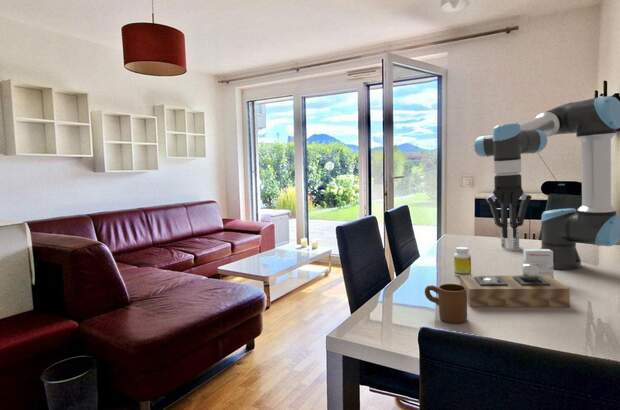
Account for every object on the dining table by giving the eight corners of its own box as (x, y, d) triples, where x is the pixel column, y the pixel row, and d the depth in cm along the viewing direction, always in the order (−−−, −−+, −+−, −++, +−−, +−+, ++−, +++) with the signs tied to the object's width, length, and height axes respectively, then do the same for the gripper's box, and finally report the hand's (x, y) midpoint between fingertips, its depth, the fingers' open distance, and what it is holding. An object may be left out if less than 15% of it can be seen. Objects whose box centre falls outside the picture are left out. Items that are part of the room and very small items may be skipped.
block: (548, 291, 124) (548, 273, 124) (569, 306, 111) (569, 286, 110) (460, 291, 130) (459, 274, 129) (469, 306, 116) (469, 287, 115)
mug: (420, 318, 110) (419, 287, 109) (430, 309, 116) (429, 280, 115) (462, 326, 102) (461, 293, 101) (470, 317, 108) (469, 285, 107)
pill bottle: (472, 277, 144) (472, 249, 143) (456, 277, 146) (455, 249, 145) (469, 272, 151) (468, 246, 150) (453, 273, 152) (452, 246, 151)
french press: (525, 250, 181) (525, 199, 179) (501, 251, 181) (501, 200, 179) (515, 246, 191) (514, 197, 189) (492, 247, 191) (491, 199, 189)
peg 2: (535, 279, 120) (535, 262, 120) (541, 283, 116) (541, 266, 115) (520, 279, 121) (520, 262, 120) (525, 283, 117) (525, 266, 116)
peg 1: (495, 293, 123) (495, 276, 122) (500, 297, 119) (499, 280, 118) (481, 293, 124) (481, 277, 123) (485, 297, 119) (484, 281, 119)
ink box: (549, 279, 136) (549, 248, 135) (553, 284, 131) (553, 251, 130) (523, 279, 139) (523, 248, 137) (526, 283, 134) (526, 251, 133)
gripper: (526, 172, 119) (527, 244, 121) (482, 175, 122) (484, 245, 124) (535, 172, 111) (536, 249, 114) (488, 176, 114) (490, 251, 117)
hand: (509, 247), depth 119 cm, fingers closed
